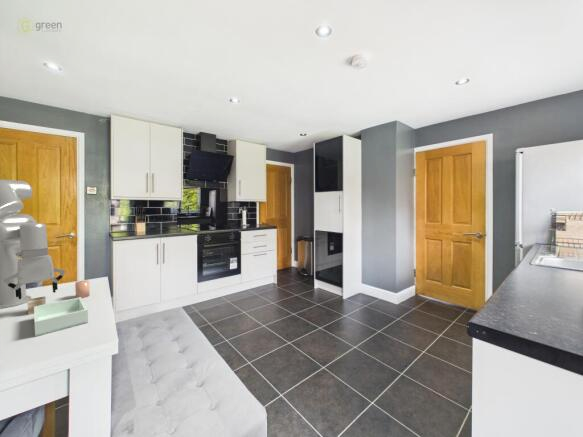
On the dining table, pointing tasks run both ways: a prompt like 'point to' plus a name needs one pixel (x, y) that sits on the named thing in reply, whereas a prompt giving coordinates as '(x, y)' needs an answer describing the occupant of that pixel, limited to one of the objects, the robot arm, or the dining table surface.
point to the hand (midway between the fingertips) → (37, 295)
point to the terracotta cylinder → (82, 289)
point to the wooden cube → (35, 304)
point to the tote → (59, 316)
